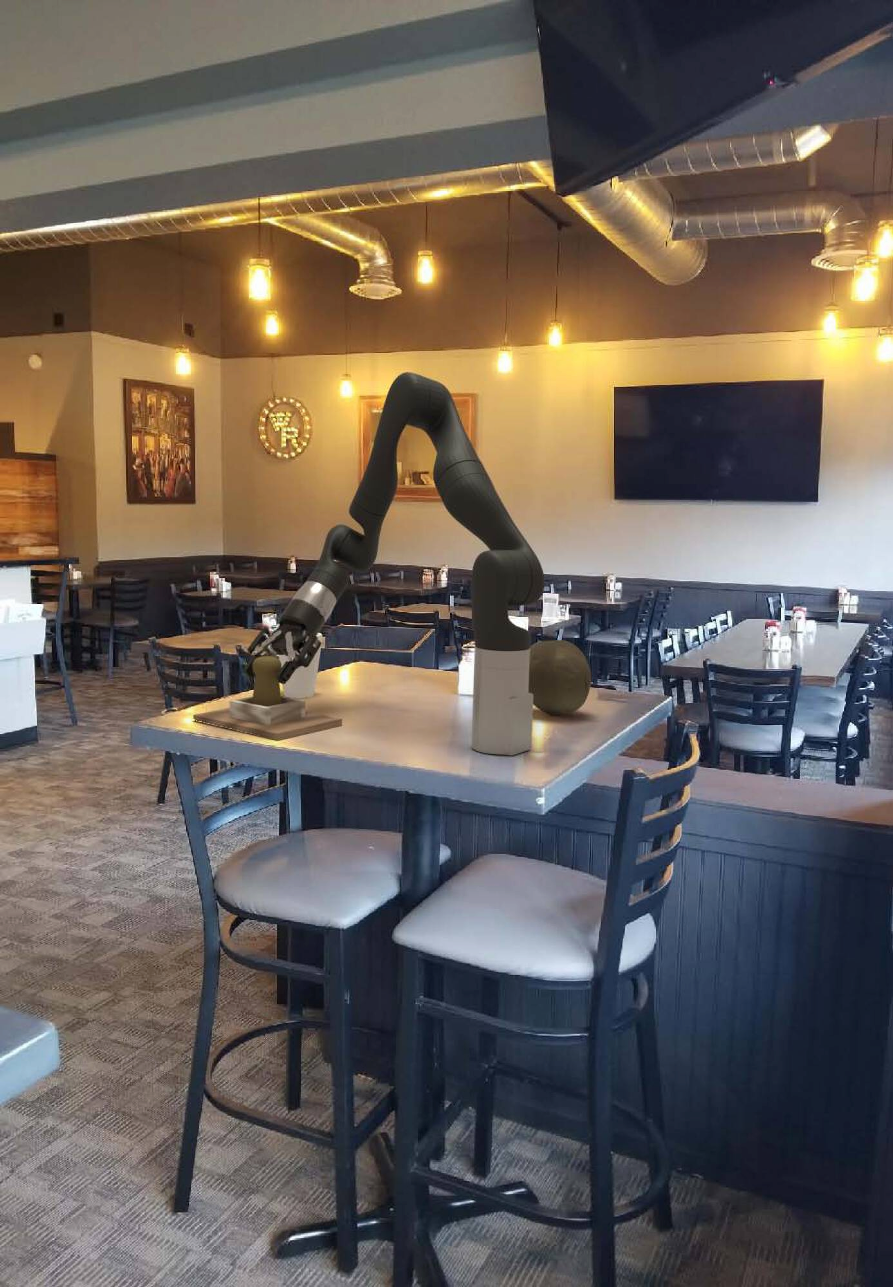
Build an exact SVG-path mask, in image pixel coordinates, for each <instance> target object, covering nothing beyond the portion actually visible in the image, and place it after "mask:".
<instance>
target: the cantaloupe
mask: <svg viewBox="0 0 893 1287" xmlns="http://www.w3.org/2000/svg"><path fill="white" fill-rule="evenodd" d="M591 685H592V671H591V670H590V665H589V663H588V661H587V659H586V656H585V655H584V653H583V651H582V650H581V649H579V647H578V646H576V645H575V644H574V643H572V642H570V641H567V640H565V639H561V640H560V639H559V640H541V641H537V642H535V643H534V644H531V645H530V667H529V692H528V693H532V694H533V707H536V708H537V709H538V710H540V711H541V712H543V713H546V714H548V715H552V716H559V717H563V716H568V715H569V714H572V713H574V712H576V711H578V710H579V709H580V708H582V706H583V705H584V704H585V703H586V701H587V699H588V697H589V695H590V694H589V693H590V690H591Z"/></svg>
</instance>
